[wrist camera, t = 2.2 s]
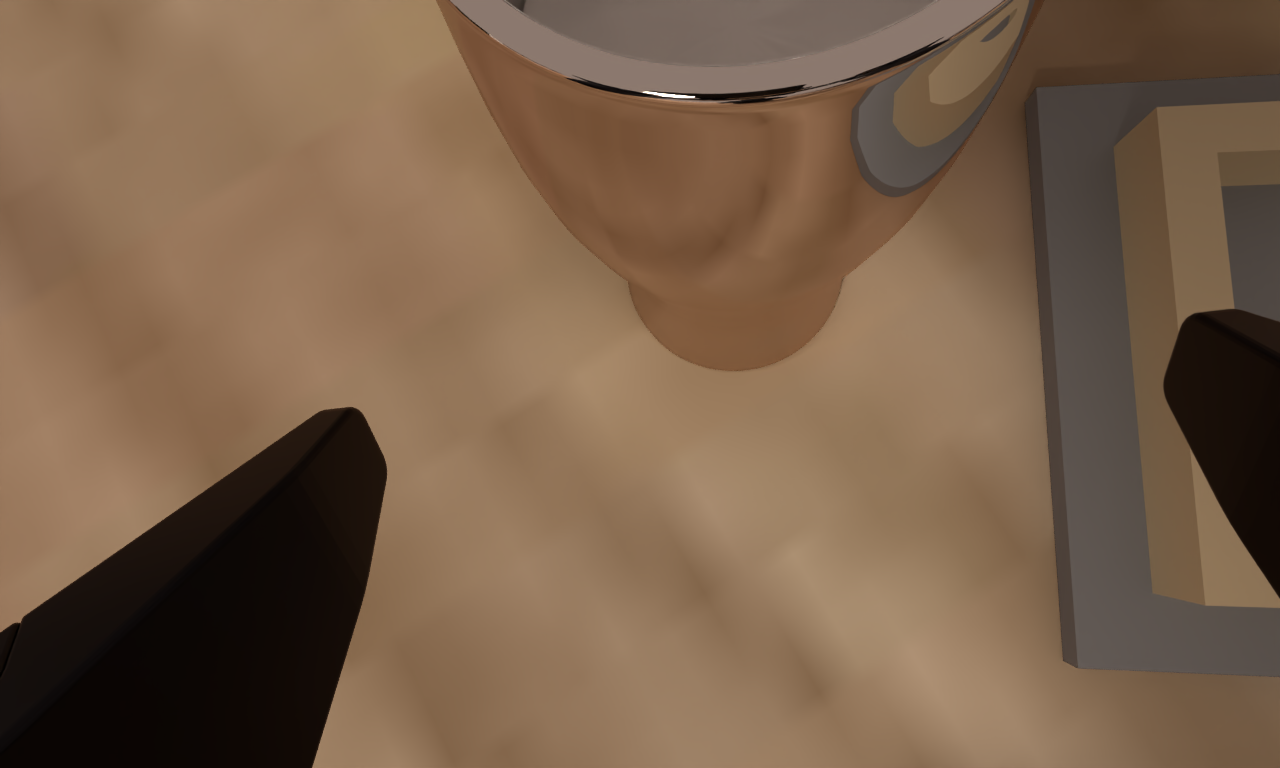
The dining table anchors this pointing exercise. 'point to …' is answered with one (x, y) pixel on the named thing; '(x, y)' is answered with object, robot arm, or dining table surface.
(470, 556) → the dining table surface
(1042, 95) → the socket board
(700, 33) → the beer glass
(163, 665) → the robot arm
